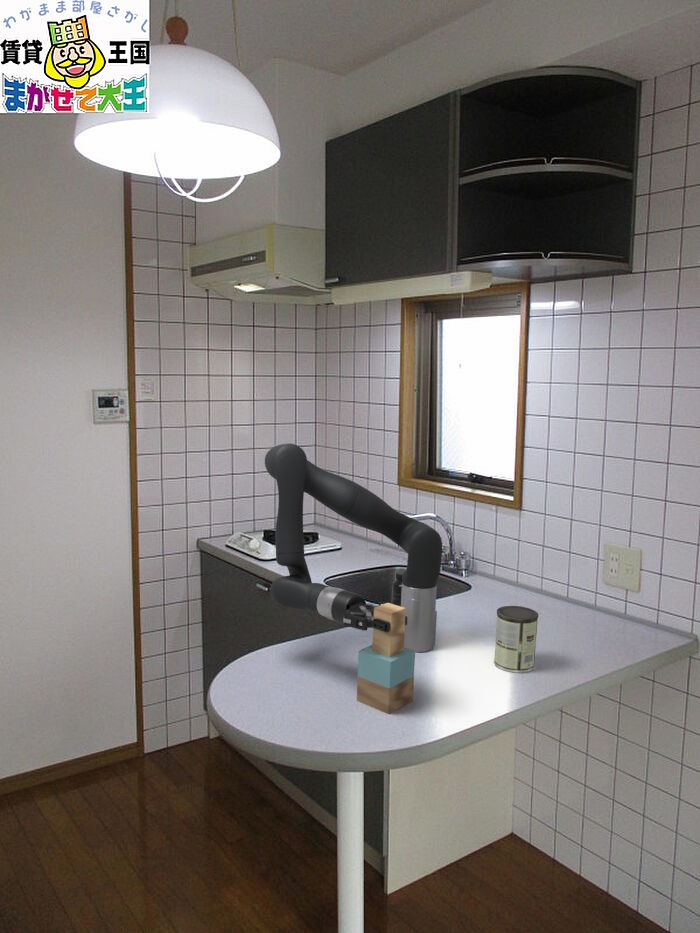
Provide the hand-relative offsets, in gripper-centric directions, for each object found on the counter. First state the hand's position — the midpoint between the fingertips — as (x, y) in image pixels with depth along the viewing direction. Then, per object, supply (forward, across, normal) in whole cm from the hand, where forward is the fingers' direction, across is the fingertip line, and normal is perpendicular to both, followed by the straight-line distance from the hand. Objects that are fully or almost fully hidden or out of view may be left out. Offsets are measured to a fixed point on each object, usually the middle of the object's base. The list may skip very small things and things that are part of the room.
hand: (397, 624), depth 171 cm
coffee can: (+7, +40, +19) cm, 45 cm away
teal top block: (-3, 0, +13) cm, 13 cm away
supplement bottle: (-38, +52, +19) cm, 67 cm away
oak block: (-3, 0, +7) cm, 7 cm away
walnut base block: (-3, 0, +19) cm, 19 cm away
